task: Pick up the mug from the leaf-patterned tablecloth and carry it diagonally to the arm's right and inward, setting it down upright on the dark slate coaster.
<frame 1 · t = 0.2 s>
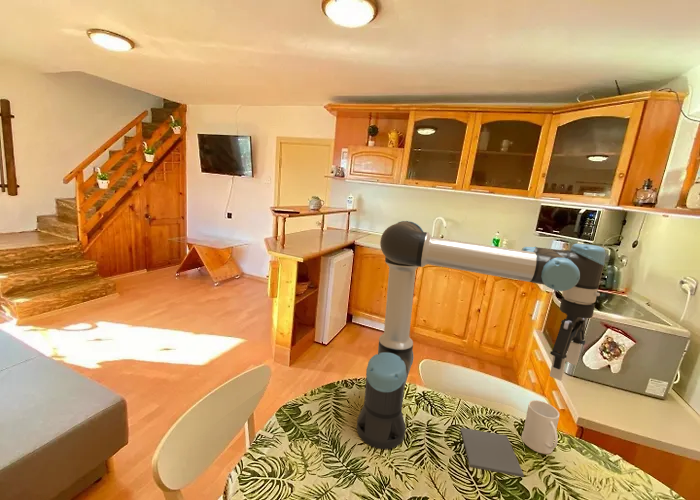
hand: (563, 370, 89), 26 cm above the table, fingers open, 13 cm apart
mug: (539, 447, 95), on the table
coaster: (489, 451, 92), on the table
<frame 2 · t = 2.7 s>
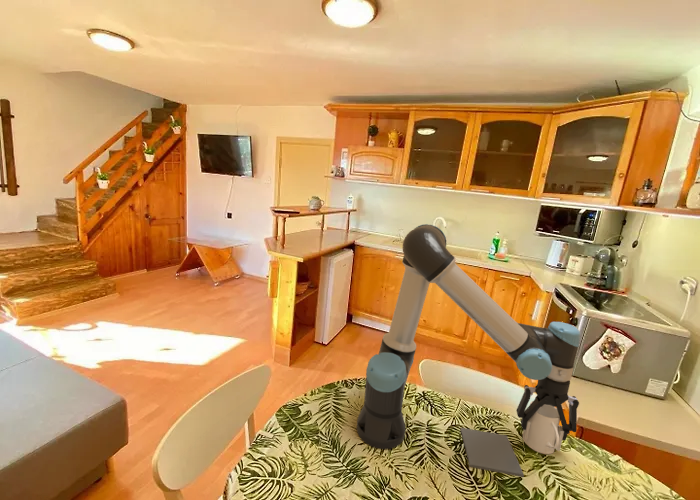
hand: (540, 442, 94), 2 cm above the table, fingers closed on mug, 8 cm apart
mug: (540, 447, 95), on the table, touching gripper
when the fingers open (4 cm above the table, at t = 8.1 s): mug drops 1 cm, resting on coaster.
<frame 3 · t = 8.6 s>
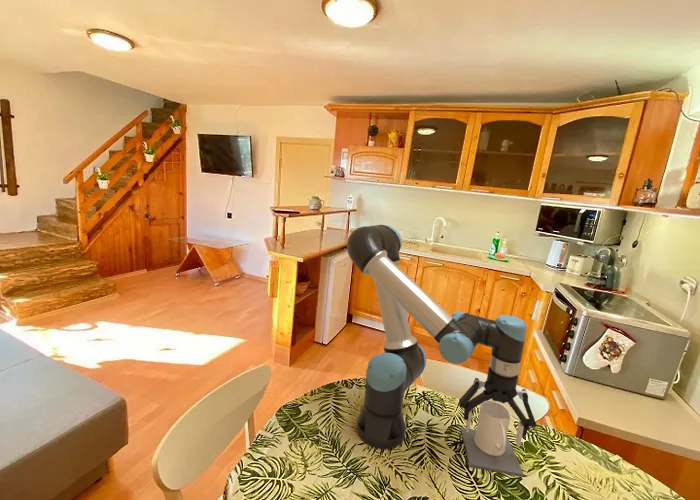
hand: (491, 436, 91), 5 cm above the table, fingers open, 13 cm apart
mug: (490, 449, 92), point 1 cm above the table, touching coaster
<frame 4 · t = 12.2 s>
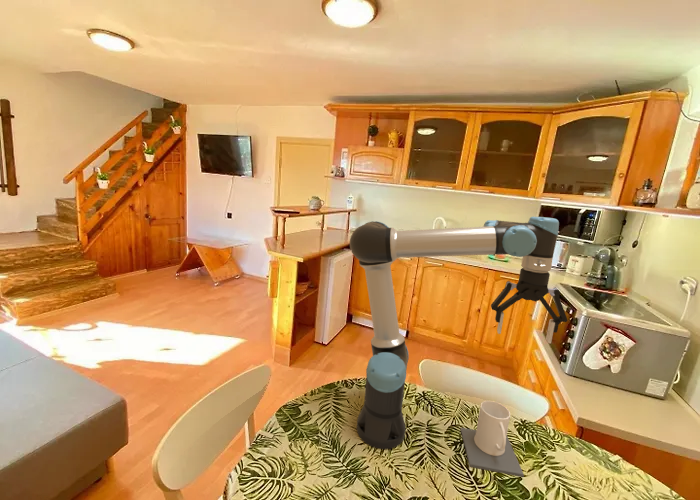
hand: (522, 336, 95), 33 cm above the table, fingers open, 13 cm apart
nothing on the table moved.
at the end: mug inside the target area on the coaster (0.5 cm from its centre), point 0.6 cm above the coaster's base; mug tilted 0°; the gripper is holding nothing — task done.
